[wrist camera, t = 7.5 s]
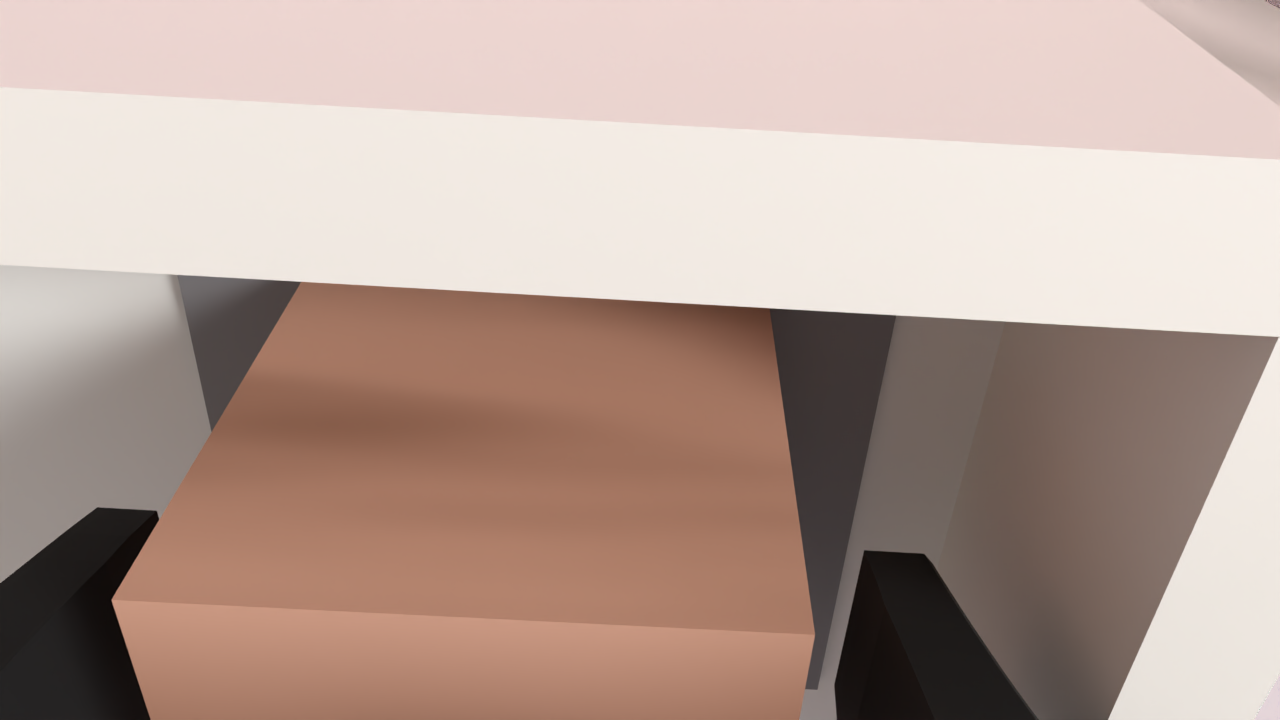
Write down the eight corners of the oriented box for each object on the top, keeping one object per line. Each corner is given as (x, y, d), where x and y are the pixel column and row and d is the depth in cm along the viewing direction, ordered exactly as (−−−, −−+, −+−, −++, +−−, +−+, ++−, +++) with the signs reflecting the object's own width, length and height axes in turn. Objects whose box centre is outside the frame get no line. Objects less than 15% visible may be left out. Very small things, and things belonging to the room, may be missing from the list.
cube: (727, 607, 15) (748, 992, 10) (359, 589, 15) (231, 966, 10) (766, 286, 12) (814, 635, 8) (312, 263, 12) (111, 599, 8)
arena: (945, 720, 18) (1040, 1099, 13) (-36, 665, 17) (-288, 1026, 13) (1187, -45, 11) (1560, 175, 6) (-391, -136, 11) (-1172, 20, 6)
